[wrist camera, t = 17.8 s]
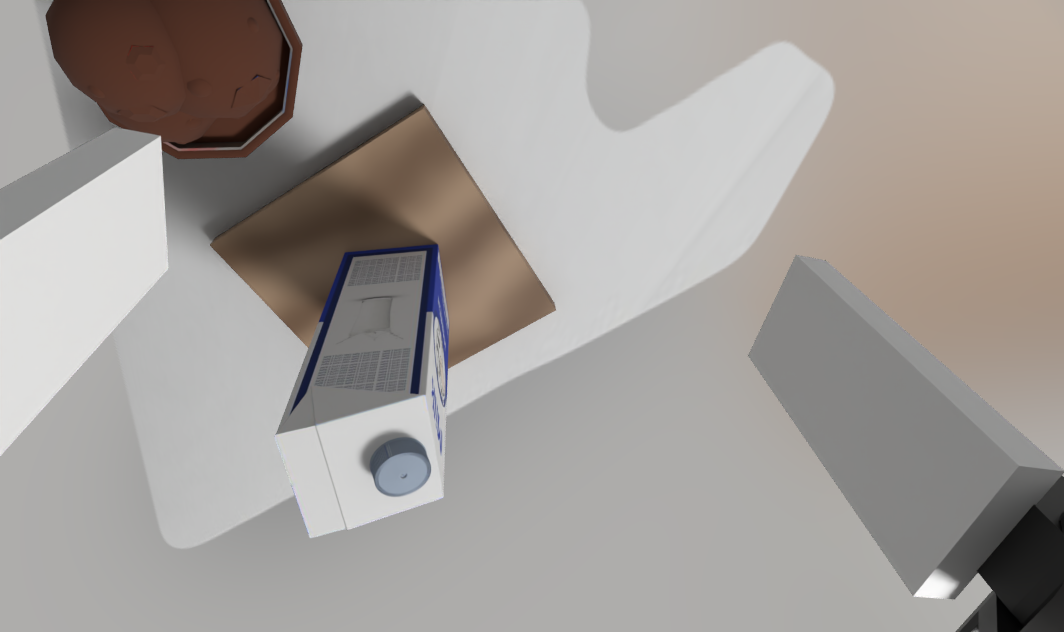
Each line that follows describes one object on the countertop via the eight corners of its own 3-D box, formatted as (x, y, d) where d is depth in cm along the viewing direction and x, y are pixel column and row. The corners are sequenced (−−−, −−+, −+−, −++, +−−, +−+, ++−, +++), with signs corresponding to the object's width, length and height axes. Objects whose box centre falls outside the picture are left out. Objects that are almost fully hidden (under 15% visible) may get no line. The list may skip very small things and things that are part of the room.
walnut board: (215, 238, 45) (209, 244, 44) (424, 104, 42) (423, 108, 41) (371, 402, 54) (369, 411, 53) (554, 302, 51) (556, 310, 50)
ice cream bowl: (214, 141, 42) (105, 230, 29) (105, -42, 36) (-91, -32, 23) (362, 87, 41) (317, 154, 28) (274, -110, 35) (167, -137, 23)
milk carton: (343, 249, 45) (271, 436, 28) (437, 241, 46) (423, 421, 29) (362, 332, 49) (309, 543, 32) (449, 324, 49) (442, 528, 32)
